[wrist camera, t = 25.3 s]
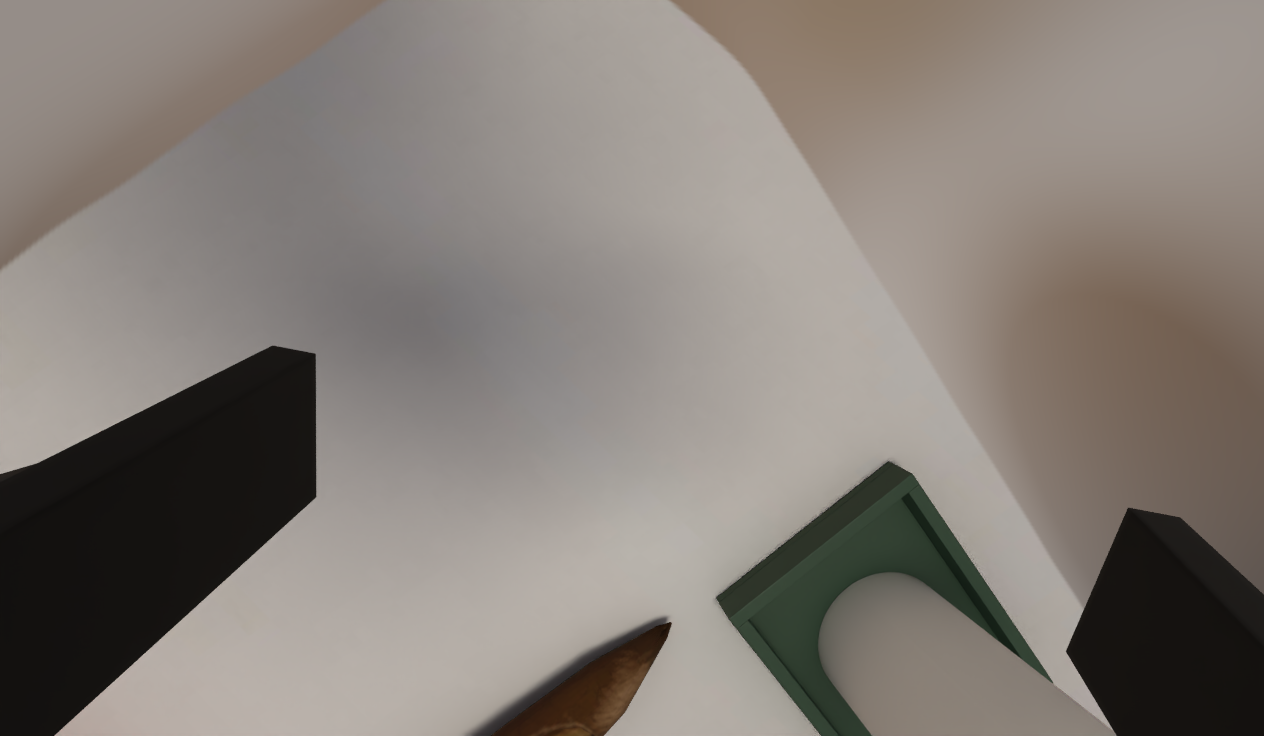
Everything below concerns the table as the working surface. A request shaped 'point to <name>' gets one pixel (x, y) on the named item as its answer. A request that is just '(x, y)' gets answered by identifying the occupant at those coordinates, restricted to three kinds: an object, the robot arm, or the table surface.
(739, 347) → the table surface
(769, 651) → the tray
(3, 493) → the robot arm
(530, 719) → the bread
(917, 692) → the cup
